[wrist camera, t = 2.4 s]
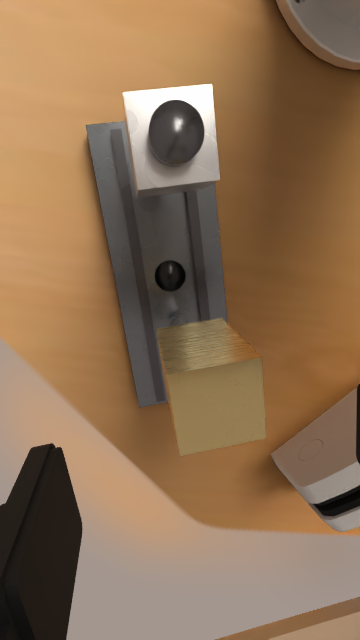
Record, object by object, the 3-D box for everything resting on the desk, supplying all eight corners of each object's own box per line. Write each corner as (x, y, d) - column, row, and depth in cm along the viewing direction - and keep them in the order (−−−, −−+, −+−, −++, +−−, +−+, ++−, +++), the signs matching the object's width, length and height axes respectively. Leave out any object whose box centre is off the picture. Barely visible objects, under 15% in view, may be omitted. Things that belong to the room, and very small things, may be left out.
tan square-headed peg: (149, 302, 21) (167, 374, 10) (198, 294, 21) (261, 357, 11) (156, 348, 22) (179, 456, 11) (203, 340, 22) (266, 438, 12)
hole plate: (88, 131, 19) (41, 26, 9) (203, 119, 20) (276, 9, 10) (138, 399, 24) (144, 516, 14) (229, 382, 25) (293, 482, 15)
